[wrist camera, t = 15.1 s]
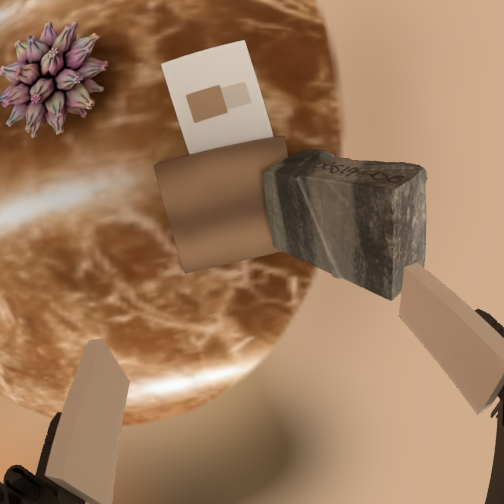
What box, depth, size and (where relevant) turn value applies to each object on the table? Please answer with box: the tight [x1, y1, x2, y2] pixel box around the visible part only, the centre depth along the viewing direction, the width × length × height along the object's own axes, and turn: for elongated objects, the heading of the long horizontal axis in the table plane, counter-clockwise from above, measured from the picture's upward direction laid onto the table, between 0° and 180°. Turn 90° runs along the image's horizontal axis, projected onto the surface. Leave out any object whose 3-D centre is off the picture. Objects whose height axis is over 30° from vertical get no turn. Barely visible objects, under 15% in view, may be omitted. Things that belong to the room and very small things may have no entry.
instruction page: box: [161, 40, 274, 154], centre depth 27 cm, size 12×9×1 cm
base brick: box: [154, 136, 288, 274], centre depth 31 cm, size 12×13×3 cm
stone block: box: [262, 150, 427, 301], centre depth 23 cm, size 9×14×5 cm
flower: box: [0, 21, 108, 138], centre depth 18 cm, size 12×12×12 cm
